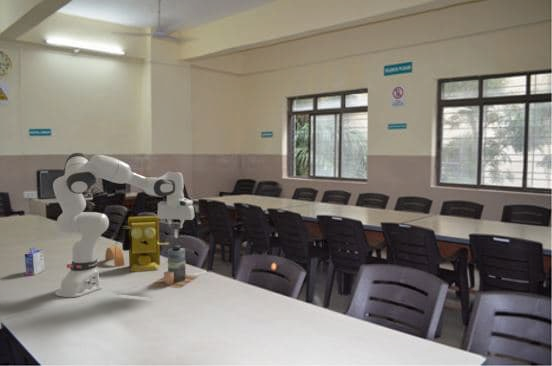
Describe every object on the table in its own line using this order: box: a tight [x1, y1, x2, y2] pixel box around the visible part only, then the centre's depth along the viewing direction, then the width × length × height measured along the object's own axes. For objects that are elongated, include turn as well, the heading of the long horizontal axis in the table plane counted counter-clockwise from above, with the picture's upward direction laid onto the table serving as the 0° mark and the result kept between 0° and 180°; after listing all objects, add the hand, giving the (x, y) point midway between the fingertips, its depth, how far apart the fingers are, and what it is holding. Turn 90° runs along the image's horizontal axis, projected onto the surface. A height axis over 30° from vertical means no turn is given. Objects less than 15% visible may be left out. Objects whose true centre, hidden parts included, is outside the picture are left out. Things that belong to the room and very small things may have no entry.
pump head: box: [166, 221, 181, 239], centre depth 237 cm, size 10×4×8 cm, turn 164°
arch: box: [104, 245, 125, 268], centre depth 281 cm, size 6×20×10 cm, turn 36°
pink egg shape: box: [163, 270, 174, 285], centre depth 233 cm, size 5×5×6 cm
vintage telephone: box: [115, 215, 170, 273], centre depth 268 cm, size 31×14×30 cm, turn 105°
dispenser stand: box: [149, 244, 200, 289], centre depth 239 cm, size 22×18×20 cm
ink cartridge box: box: [24, 246, 45, 276], centre depth 259 cm, size 10×6×14 cm, turn 174°
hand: (175, 227), depth 239 cm, fingers closed on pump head, 4 cm apart
